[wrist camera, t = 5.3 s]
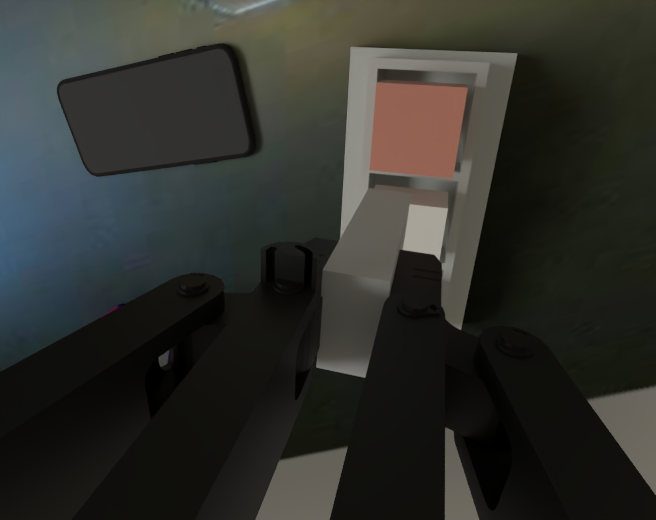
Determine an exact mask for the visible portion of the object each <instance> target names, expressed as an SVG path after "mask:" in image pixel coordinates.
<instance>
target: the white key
mask: <svg viewBox="0 0 656 520" xmlns="http://www.w3.org/2000/svg"><path fill="white" fill-rule="evenodd" d="M374 189H380V190H388V191H395V192H403V193H411V200H410V206H409V213H408V219H407V226H406V232H405V239H404V245H403V250H407V251H413V252H420V253H426V254H432V255H435V256H436V257H437V258H438V260H440V254H441V248H442V241H443V235H444V229H445V223H446V217H447V211H448V192H444V191H434V190H425V189H415V188H405V187H396V186H386V185H377V184H376V185H375V187H374Z"/></svg>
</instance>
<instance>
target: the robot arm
mask: <svg viewBox="0 0 656 520" xmlns="http://www.w3.org/2000/svg"><path fill="white" fill-rule="evenodd" d="M410 200H411V193H403V192H395V191H388V190H380V189H372V188H368V190H367V192H366V194H365V196H364V197H363V199H362V201H361V203H360V204H359V206H358V208H357V210H356V212H355V213H354V215H353V217H352V219H351V220H350V222H349V224H348V226H347V228H346V229H345V231H344V233H343V235H342V236H341V238H340V240H339V241H334V240H327V239H321V238H315V239H313V240H310V241H308V242H306V243H305V244H302V243H298V242H278V243H273V244H270V245H267V246H265V247H264V248H262V249H261V282H260V284H259V285H258V286H257V287H256V289H255V290H254V291H253V292H251V293H224V284H223V282H222V280H221V279H219V278H217V277H216V276H214V275H209V274H205V273H190V274H186V275H181V276H179V277H176V278H173V279H171V280H169V281H167V282H166V283H164V284H162V285H160V286H158V287H156V288H154V289H153V290H151V291H149V292H147V293H145V294H143V295H142V296H140V297H138V298H136V299H134V300H132V301H130V302H129V303H127V304H125V305H123V306H121V307H119V308H118V309H116V310H114V311H112V312H110V313H108V314H106V315H105V316H103V317H101V318H99V319H97V320H95V321H94V322H92V323H90V324H88V325H86V326H84V327H82V328H81V329H79V330H77V331H75V332H73V333H71V334H70V335H68V336H66V337H64V338H62V339H60V340H58V341H57V342H55V343H53V344H51V345H49V346H47V347H46V348H44V349H42V350H40V351H38V352H36V353H34V354H33V355H31V356H29V357H27V358H25V359H23V360H22V361H20V362H18V363H16V364H14V365H12V366H11V367H9V368H7V369H5V370H3V371H1V372H0V520H255V519H256V516H257V514H258V511H259V509H260V507H261V504H262V502H263V499H264V496H265V494H266V491H267V489H268V486H269V484H270V482H271V479H272V476H273V474H274V472H275V469H276V467H277V464H278V462H279V459H280V457H281V454H282V452H283V449H284V447H285V444H286V442H287V440H288V437H289V435H290V432H291V430H292V427H293V425H294V422H295V420H296V417H297V415H298V412H299V410H300V407H301V405H302V402H303V400H304V397H305V395H306V392H307V390H308V387H309V385H310V382H311V376H312V363H313V361H314V359H315V356H316V354H317V366H316V367H317V368H322V369H327V370H331V371H336V372H341V373H346V374H350V375H355V376H360V377H364V378H365V381H364V385H363V389H362V393H361V397H360V401H359V405H358V409H357V413H356V417H355V421H354V425H353V429H352V433H351V437H350V441H349V445H348V449H347V453H346V457H345V461H344V465H343V469H342V473H341V477H340V481H339V485H338V489H337V493H336V497H335V501H334V505H333V509H332V513H331V517H330V520H445V427H447V428H449V429H451V430H453V431H454V440H455V444H456V447H457V450H458V453H459V457H460V460H461V463H462V466H463V469H464V472H465V476H466V479H467V482H468V485H469V488H470V491H471V494H472V498H473V500H474V504H475V507H476V510H477V513H478V516H479V520H656V495H655V494H654V492H653V491H652V490H651V488H650V487H649V485H648V484H647V483H646V481H645V480H644V479H643V477H642V476H641V474H640V473H639V472H638V470H637V469H636V468H635V466H634V465H633V463H632V462H631V461H630V459H629V458H628V456H627V455H626V454H625V452H624V451H623V450H622V448H621V447H620V446H619V444H618V443H617V441H616V440H615V439H614V437H613V436H612V434H611V433H610V432H609V430H608V429H607V428H606V426H605V425H604V423H603V422H602V421H601V419H600V418H599V416H598V415H597V414H596V412H595V411H594V410H593V409H592V407H591V405H590V404H589V403H588V401H587V400H586V399H585V397H584V396H583V394H582V393H581V392H580V390H579V389H578V387H577V386H576V385H575V383H574V382H573V381H572V379H571V378H570V376H569V375H568V374H567V372H566V371H565V370H564V368H563V367H562V365H561V364H560V363H559V361H558V360H557V358H556V357H555V356H554V354H553V353H552V352H551V350H550V349H549V347H548V346H547V345H545V344H544V343H543V342H542V341H541V340H540V339H539V338H537V337H535V336H534V335H532V334H530V333H529V332H527V331H524V330H520V329H519V328H515V327H507V326H492V327H489V328H487V329H484V330H483V331H482V333H481V334H480V336H479V337H476V336H474V335H471V334H468V333H466V332H464V331H462V330H459V329H458V328H456V327H455V326H453V325H451V324H450V323H449V322H448V321H447V320H446V319H445V312H444V309H443V307H442V306H441V289H442V282H441V281H442V263H441V262H440V261H439V260H438V258H437V257H436V256H435V255H432V254H426V253H420V252H413V251H407V250H403V245H404V239H405V232H406V226H407V219H408V213H409V206H410ZM168 350H170V356H171V361H170V362H169V363H167V364H166V365H164V366H162V367H160V365H159V357H160V356H161V355H163V354H164V353H166V352H167V351H168Z"/></svg>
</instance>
